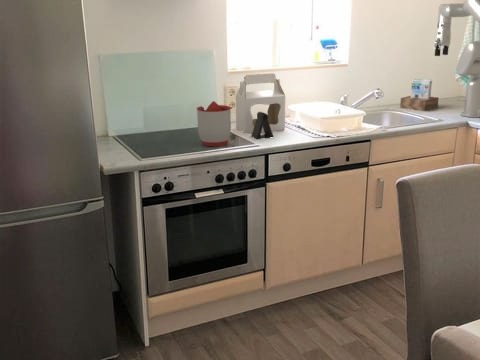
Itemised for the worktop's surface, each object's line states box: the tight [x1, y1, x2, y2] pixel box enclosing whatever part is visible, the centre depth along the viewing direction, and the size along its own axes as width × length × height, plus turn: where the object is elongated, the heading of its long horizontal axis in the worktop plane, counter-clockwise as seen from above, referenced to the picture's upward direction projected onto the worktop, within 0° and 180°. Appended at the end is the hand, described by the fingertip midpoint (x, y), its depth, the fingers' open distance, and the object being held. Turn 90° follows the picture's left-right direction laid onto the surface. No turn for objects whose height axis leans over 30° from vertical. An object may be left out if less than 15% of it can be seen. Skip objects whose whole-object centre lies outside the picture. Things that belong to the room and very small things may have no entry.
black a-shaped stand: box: [251, 111, 274, 140], centre depth 267 cm, size 9×6×12 cm, turn 112°
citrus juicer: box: [196, 100, 232, 147], centre depth 254 cm, size 16×17×20 cm
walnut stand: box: [399, 95, 439, 112], centre depth 336 cm, size 16×16×6 cm
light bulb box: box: [410, 78, 433, 99], centre depth 333 cm, size 11×7×11 cm, turn 62°
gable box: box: [235, 73, 286, 134], centre depth 282 cm, size 22×13×28 cm, turn 112°
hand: (441, 55), depth 334 cm, fingers open, 9 cm apart
